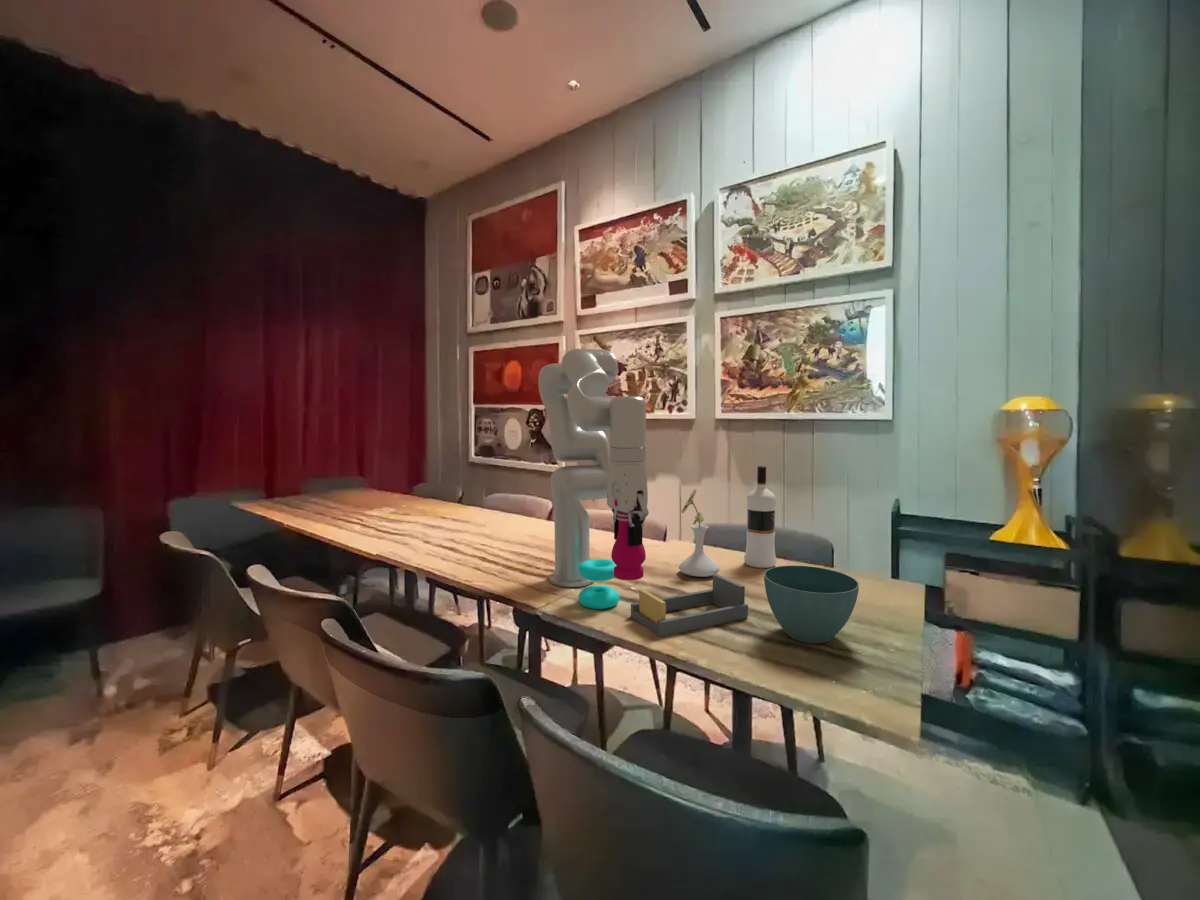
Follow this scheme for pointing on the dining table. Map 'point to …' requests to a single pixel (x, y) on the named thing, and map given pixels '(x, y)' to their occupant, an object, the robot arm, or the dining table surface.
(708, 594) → the lane
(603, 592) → the donuts
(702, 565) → the flower in vase
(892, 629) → the dining table surface
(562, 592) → the dining table surface
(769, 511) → the vodka
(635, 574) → the pepper mill
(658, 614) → the pusher plate
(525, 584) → the dining table surface
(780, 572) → the teal bowl
